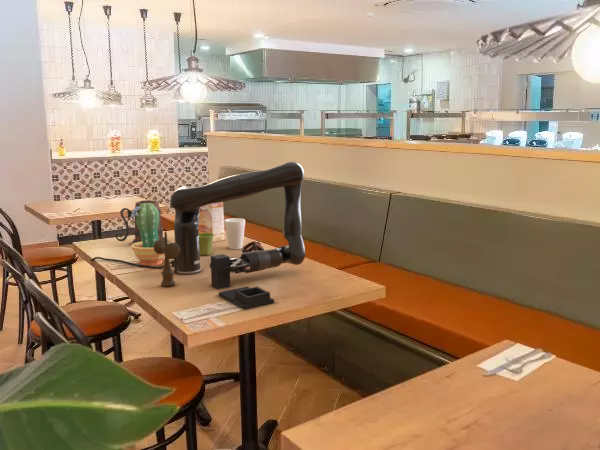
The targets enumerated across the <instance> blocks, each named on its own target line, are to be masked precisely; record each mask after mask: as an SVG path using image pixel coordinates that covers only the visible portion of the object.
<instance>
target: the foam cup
mask: <svg viewBox="0 0 600 450" xmlns="http://www.w3.org/2000/svg"><path fill="white" fill-rule="evenodd" d="M245 227H246V218H245V219H244V218H241V217H240V218H239V217H231V218H226V219H224V230H225V235H226V240H227V246H228V249H229V250H240V249H241V250H242V249H243V247H244V237H245Z"/></svg>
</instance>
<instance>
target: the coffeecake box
mask: <svg viewBox="0 0 600 450" xmlns="http://www.w3.org/2000/svg"><path fill="white" fill-rule="evenodd" d="M224 220H225V215H224V202H220V203H213V204H208V205H205V206H202V207H199V233H212V234H214V236H213V240H212V243H215V242H221V241H225V239H226V238H225V226H224Z"/></svg>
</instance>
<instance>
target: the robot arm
mask: <svg viewBox="0 0 600 450" xmlns="http://www.w3.org/2000/svg"><path fill="white" fill-rule="evenodd" d="M304 177H305V170H304V167H303V165H301V164H300V163H298V162H296V161H288V162H285V163H283V164H281V165H278V166H274V167H272V168H269V169H265V170H257V171H249V172H248V171H247V172H242V173H238V174H233V175H229V176H227V177H223V178H220V179H217V180H215V181H213V182H211V183H208V184H205V185H201V186H195V187H192V186H189V185H185V186H184V185H183V186H181V187H179V188H178V189H176V190H174V191H173V192H172V194H171V197H170V200H169V201H170V205H171V207H172V209H174V211H175V213H174V214H175V216H174V221H173V229H174V242H175V243H177V244H178V245H179V247H180V253H179V255H178V257H176V258H174V259H170V265H171V268H173V272H174V274H175V273H176V274H179V275H194V274H197V273H200V272H201V271H202V268H201V255H200V246H199V207H202V206H205V205H208V204H213V203H220V202H223V203H225V202H226V203H227V202H231V201H237V200H240V199H241V200H242V199H244V198H248V197H252V196H255V195H258V194H261V193H264V192H265V191H268V190H273V189H279V188H283V191H284V208H283V223H282V224H283V225H282V226H283V228H282V229H283V238H284V240H286V241H287V243H288V244H287V245H281V246H279V247H276V248H270V249H264V250H260V251H253V250H252V252H247V253H243V252H242V253H241V255H240V257H239V258H238V257H234V256H229V257H230V266H225V267H220V273H221V274H223V273H229V272H230V274H231V273H232V274H233V273H234V274H241V273H245V274H250V273H255V272H262V271H265V270H268V269H274V268H278V267H280V266H281V265H282V264H290V265H294V266H298V265H302V264H303V262H304V261H305V258H306V248H305V243H304V239H303V235H302V232H303V229H302V228H303V227H302V226H303V225H302V207H301V206H302V205H301V203H302V202H301V198H302V197H301V195H302V186H303V180H304ZM95 260H101V261H110V262H117V263H122V264H127V265H130V266H135V267H140V268H147V269H164V264H163V265H161V266H156V265H154V266H147V265H141V264H140V263H139V264H138V263H134V262H129V261H126V260H121V259H114V258H106V257H101V256H94V257H93V258H92V259H91V261H92V262H94V261H95ZM209 268H210V269H211V262H210V263H209Z"/></svg>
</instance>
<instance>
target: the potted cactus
mask: <svg viewBox="0 0 600 450" xmlns="http://www.w3.org/2000/svg"><path fill="white" fill-rule="evenodd" d="M131 212H132V214H131V217H130V219H131V220H132V222H134V223H135V216H136V223H137V226H138V228H139V230H140V234H141V238H142V241H141V242H137V243H133V244H132V245H131V244H130V249H131V250H132V251H133V252H134V256H135V257H136V258H137V259H138V260H139V265H147V266H158V265H162V264H164V261H163V259H165V254H164V253H163V254H157V253H156V252H155V251H154V244H155V242H156V241H157V240H158V225H159V212H158V210H157V208H156V207H155V206H154V205H153V204H152V203H151V204H150V203H147V204H146V203H143V204H141V205H140V206H137V207H135V206H134V208H133V210H132V211H131ZM167 242H168V243H170V242H169V241H167Z"/></svg>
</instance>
